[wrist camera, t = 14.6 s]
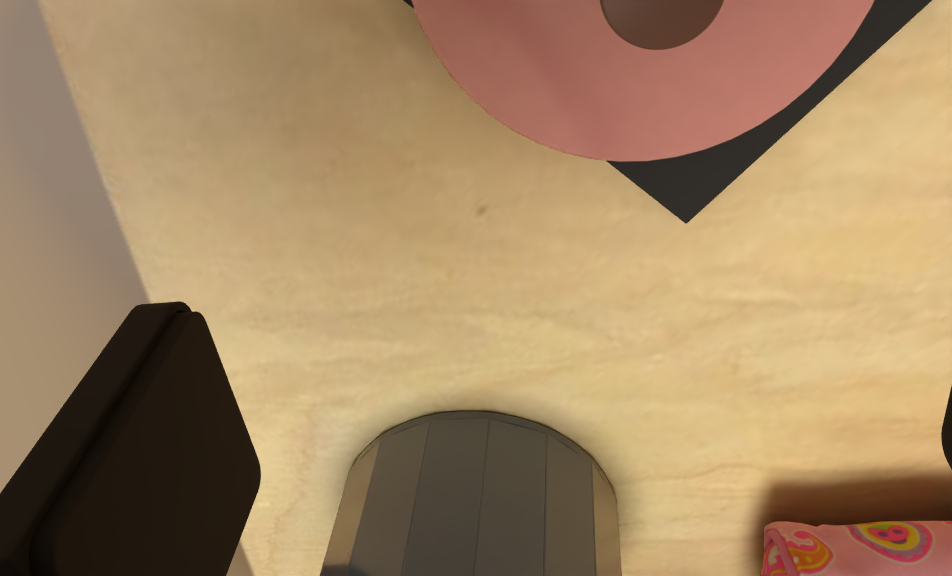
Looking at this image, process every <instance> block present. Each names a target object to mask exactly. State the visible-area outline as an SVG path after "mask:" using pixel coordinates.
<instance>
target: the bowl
mask: <svg viewBox="0 0 952 576" xmlns="http://www.w3.org/2000/svg"><path fill="white" fill-rule="evenodd" d="M320 576H622V572H621V557H620V543H619V529H618V514H617V501H616V498H615V496H614V493H613V490H612V488H611V485H610V483H609V481H608V479H607V478H606V476H605V474H604V472H603V471H602V470H601V468H600V467H599V466H598V465H597V463H596V462H595V461H594V460H593V459H592V458H591V457H590V456H589V455H588V454H587V453H586V452H585V451H584V450H583V449H582V448H580V447H579V446H578V445H576V444H575V443H573V442H572V441H571V440H569V439H568V438H566V437H564V436H563V435H561V434H559V433H557V432H556V431H554V430H551V429H549V428H547V427H545V426H542V425H540V424H538V423H535V422H532V421H528V420H525V419H522V418H519V417H514V416H510V415H505V414H500V413H491V412H482V411H457V412H445V413H439V414H433V415H428V416H424V417H420V418H417V419H414V420H411V421H408V422H405V423H403V424H401V425H399V426H397V427H394V428H392V429H391V430H389V431H387V432H386V433H384V434H383V435H381V436H379V437H378V438H377V439H376V440H375V441H373V442H372V443H371V444H370V445H369V446H367V448H366V449H365V450H364V451H363V452H362V453H361V455H360V456H359V457H358V458H357V460H356V462H355V463H354V465H353V467H352V468H351V470H350V471H349V475H348V478H347V482H346V485H345V489H344V492H343V496H342V499H341V503H340V506H339V510H338V513H337V517H336V520H335V524H334V527H333V531H332V534H331V538H330V541H329V545H328V548H327V552H326V555H325V559H324V562H323V566H322V569H321V573H320Z"/></svg>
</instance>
